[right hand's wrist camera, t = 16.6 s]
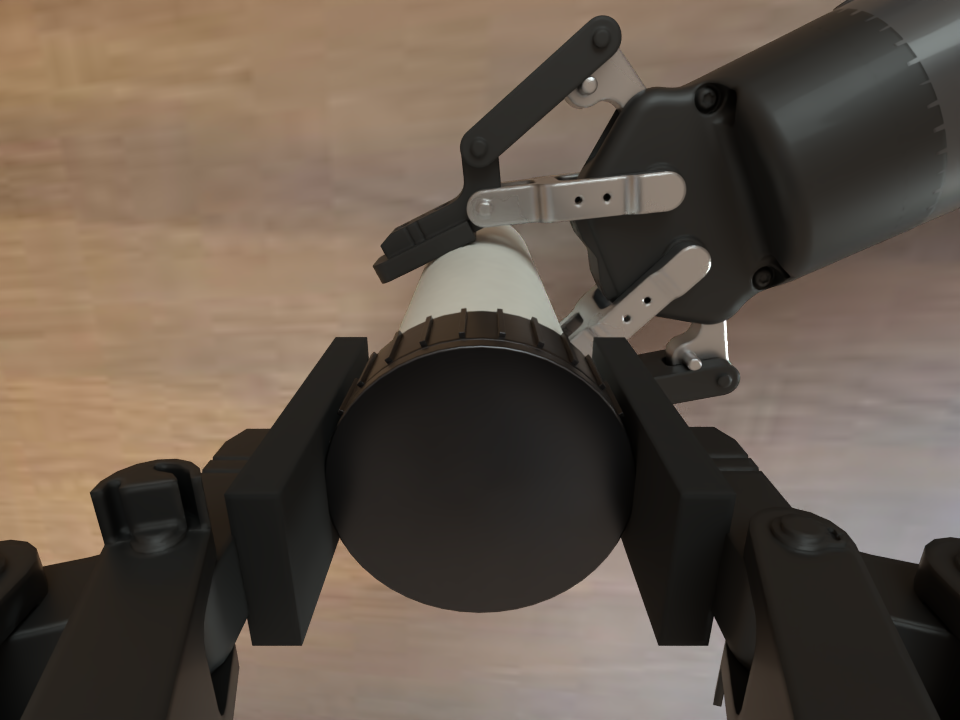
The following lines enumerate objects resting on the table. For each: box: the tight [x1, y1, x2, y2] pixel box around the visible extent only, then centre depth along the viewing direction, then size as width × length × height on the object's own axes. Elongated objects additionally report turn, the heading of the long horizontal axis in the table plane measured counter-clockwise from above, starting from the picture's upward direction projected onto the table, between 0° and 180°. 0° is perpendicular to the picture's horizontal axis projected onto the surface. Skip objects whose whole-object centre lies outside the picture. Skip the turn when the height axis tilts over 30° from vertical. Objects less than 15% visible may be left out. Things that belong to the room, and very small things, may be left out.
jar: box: [399, 225, 563, 335], centre depth 19 cm, size 5×5×18 cm
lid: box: [324, 308, 636, 613], centre depth 11 cm, size 6×6×2 cm
